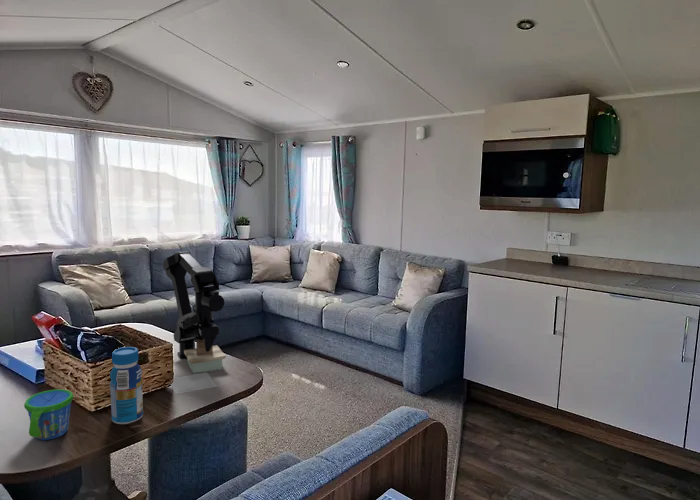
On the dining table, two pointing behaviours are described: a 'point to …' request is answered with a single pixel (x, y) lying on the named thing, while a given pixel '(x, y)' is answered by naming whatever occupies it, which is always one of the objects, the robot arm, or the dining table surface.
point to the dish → (205, 366)
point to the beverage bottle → (126, 386)
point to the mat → (192, 383)
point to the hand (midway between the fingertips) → (204, 347)
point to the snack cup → (49, 413)
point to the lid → (203, 353)
